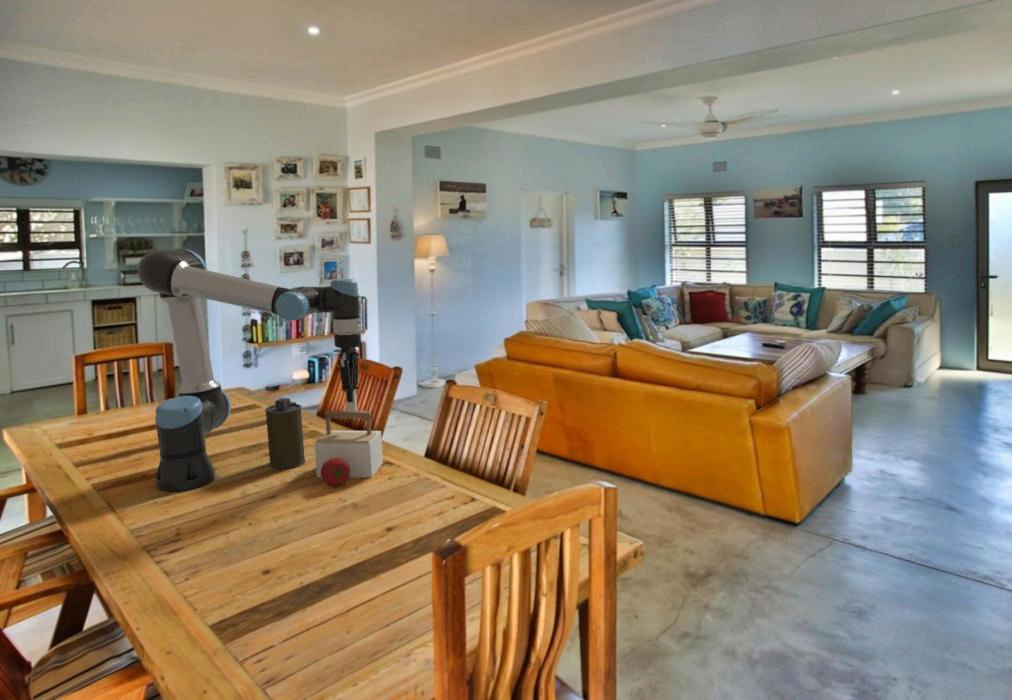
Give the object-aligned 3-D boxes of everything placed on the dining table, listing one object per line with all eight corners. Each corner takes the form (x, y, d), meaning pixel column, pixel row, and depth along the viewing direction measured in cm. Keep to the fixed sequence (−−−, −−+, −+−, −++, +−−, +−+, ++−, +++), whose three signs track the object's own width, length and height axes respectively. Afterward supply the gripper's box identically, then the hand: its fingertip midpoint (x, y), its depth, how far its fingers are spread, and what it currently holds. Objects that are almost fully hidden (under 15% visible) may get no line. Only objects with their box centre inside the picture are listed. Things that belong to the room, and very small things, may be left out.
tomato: (327, 451, 186) (335, 453, 179) (350, 464, 189) (359, 467, 182) (312, 477, 183) (319, 480, 177) (336, 490, 187) (344, 493, 180)
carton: (316, 476, 190) (314, 443, 189) (331, 462, 202) (328, 430, 200) (371, 477, 189) (369, 443, 187) (382, 462, 201) (381, 430, 199)
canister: (294, 470, 196) (289, 404, 192) (262, 468, 198) (257, 403, 194) (312, 457, 206) (307, 395, 203) (281, 456, 209) (276, 394, 205)
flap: (316, 442, 189) (314, 417, 187) (325, 434, 196) (324, 409, 195) (368, 442, 188) (367, 417, 186) (375, 434, 195) (374, 410, 194)
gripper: (353, 336, 186) (358, 417, 190) (366, 329, 199) (370, 406, 203) (327, 336, 187) (332, 417, 191) (341, 329, 200) (346, 405, 204)
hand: (351, 411), depth 197 cm, fingers closed
